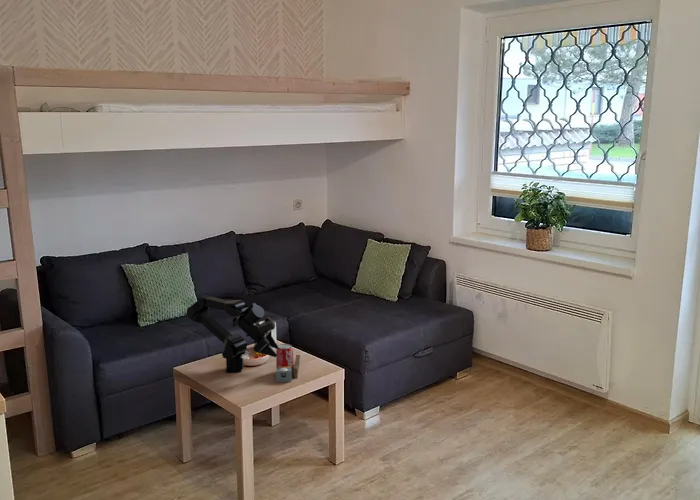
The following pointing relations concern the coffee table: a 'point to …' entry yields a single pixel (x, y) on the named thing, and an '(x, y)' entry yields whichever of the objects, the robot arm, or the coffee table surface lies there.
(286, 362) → the soda can
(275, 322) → the mug
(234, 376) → the coffee table surface
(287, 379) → the gauge cabinet
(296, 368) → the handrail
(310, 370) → the coffee table surface
